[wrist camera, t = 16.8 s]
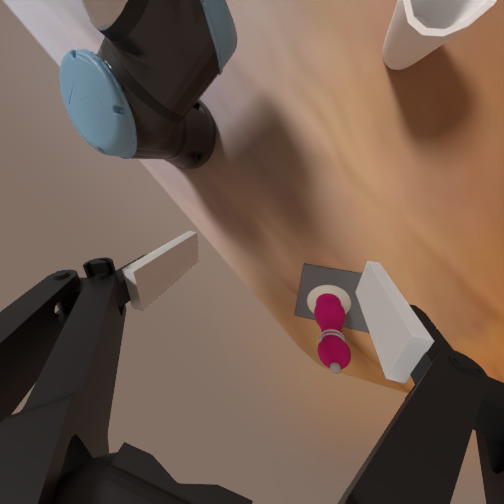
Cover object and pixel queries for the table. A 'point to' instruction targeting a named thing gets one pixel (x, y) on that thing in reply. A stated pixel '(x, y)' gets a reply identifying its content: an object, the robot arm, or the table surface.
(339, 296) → the mat
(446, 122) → the table surface
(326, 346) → the pepper mill
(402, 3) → the foam cup
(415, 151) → the table surface
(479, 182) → the table surface
